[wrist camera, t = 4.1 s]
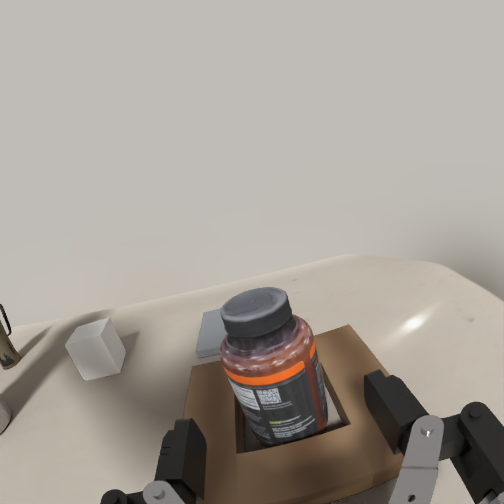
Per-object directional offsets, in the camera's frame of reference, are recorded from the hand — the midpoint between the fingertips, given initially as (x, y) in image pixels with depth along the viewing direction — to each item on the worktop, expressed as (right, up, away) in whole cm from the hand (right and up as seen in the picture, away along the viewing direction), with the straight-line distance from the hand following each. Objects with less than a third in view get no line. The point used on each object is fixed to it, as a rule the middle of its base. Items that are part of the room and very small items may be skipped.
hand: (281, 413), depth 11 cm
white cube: (-22, -9, +22) cm, 33 cm away
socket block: (+2, -6, +7) cm, 10 cm away
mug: (-51, -16, +27) cm, 60 cm away
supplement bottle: (+2, -6, +8) cm, 10 cm away
